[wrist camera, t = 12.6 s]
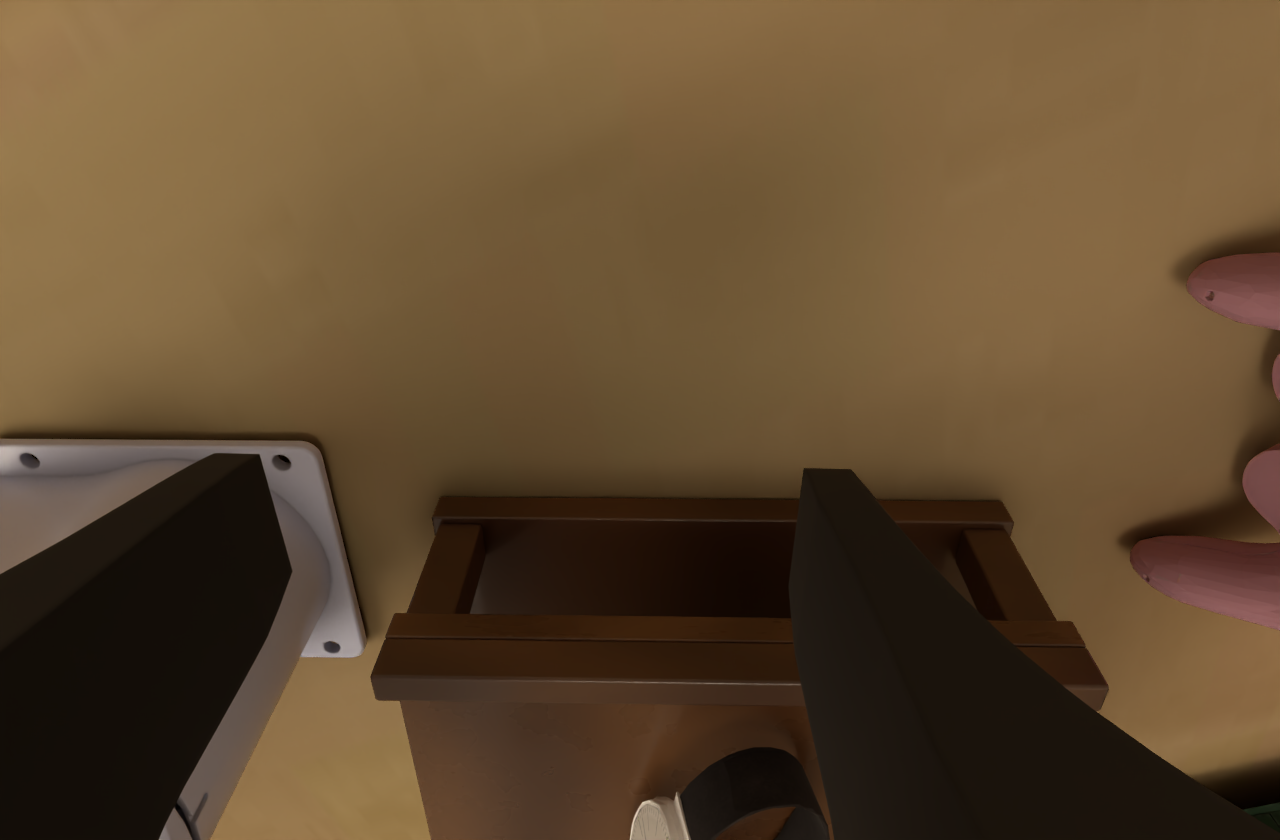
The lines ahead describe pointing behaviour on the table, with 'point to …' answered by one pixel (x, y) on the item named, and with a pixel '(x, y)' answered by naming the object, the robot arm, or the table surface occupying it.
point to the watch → (735, 800)
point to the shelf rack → (642, 652)
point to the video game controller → (1273, 480)
